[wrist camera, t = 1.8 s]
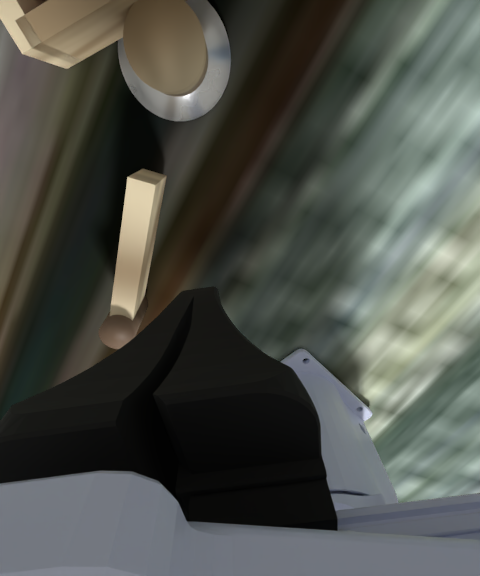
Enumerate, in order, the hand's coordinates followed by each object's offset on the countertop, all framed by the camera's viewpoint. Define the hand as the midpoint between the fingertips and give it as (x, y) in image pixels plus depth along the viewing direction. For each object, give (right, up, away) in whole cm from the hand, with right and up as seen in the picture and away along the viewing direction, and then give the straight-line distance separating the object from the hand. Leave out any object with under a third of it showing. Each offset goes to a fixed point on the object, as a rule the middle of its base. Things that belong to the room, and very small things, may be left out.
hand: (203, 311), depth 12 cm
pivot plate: (-2, +11, +2) cm, 12 cm away
